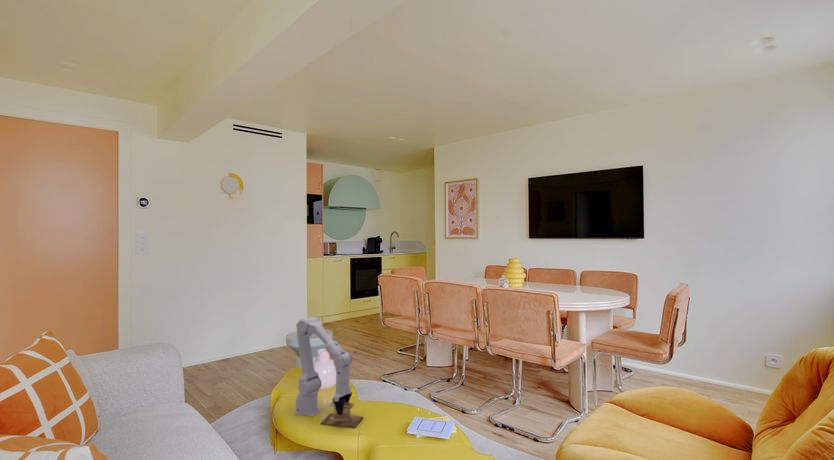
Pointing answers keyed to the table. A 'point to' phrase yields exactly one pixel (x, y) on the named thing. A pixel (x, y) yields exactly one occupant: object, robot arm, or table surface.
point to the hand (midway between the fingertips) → (342, 411)
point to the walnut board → (342, 424)
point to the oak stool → (345, 415)
